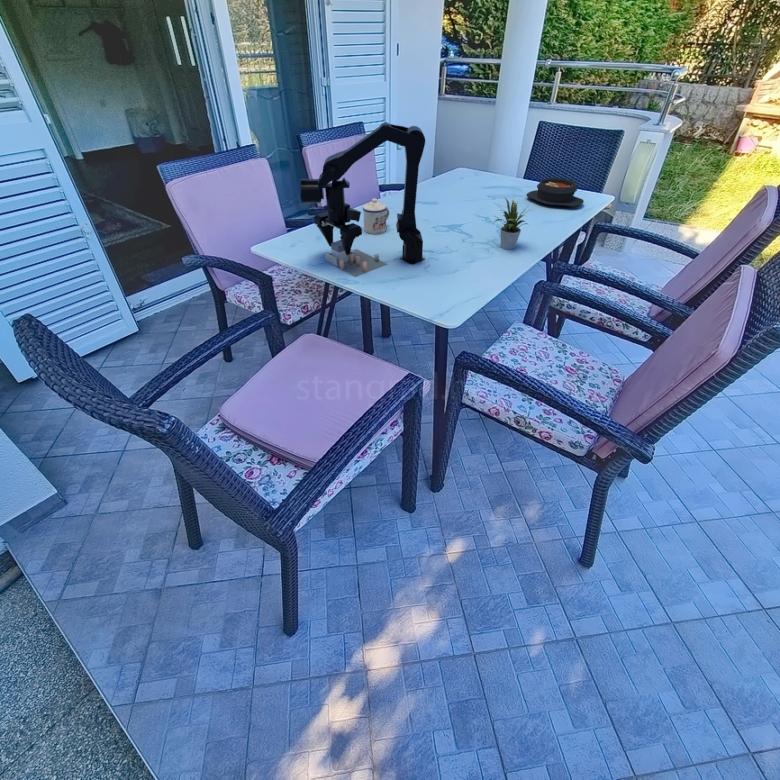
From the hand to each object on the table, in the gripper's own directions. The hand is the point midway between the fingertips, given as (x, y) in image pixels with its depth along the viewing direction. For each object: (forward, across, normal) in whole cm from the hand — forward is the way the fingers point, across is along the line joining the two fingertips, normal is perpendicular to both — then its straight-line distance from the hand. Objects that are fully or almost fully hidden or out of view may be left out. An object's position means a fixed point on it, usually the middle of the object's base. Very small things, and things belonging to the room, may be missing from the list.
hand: (339, 250), depth 149 cm
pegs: (+3, -8, -3) cm, 9 cm away
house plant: (+4, -29, -53) cm, 60 cm away
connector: (+4, 0, 0) cm, 4 cm away
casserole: (+4, -14, -108) cm, 109 cm away
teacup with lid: (+4, +14, -29) cm, 33 cm away
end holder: (+4, 0, 0) cm, 4 cm away
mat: (+4, -4, -3) cm, 7 cm away
